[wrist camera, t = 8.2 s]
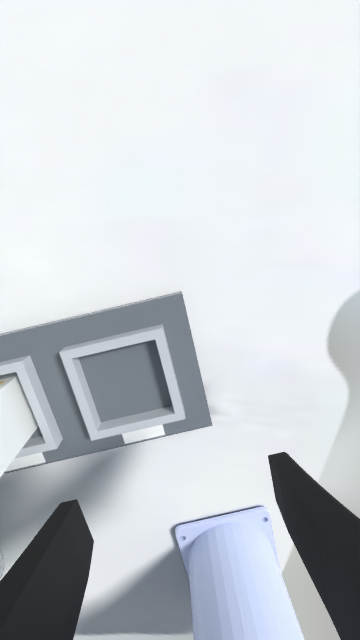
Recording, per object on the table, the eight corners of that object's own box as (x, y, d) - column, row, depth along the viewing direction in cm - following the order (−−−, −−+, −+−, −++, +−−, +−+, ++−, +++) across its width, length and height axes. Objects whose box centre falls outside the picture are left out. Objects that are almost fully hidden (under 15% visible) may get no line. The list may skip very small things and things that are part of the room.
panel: (210, 419, 20) (214, 434, 19) (-31, 474, 21) (-50, 495, 19) (181, 291, 18) (182, 295, 16) (-93, 355, 18) (-120, 366, 16)
